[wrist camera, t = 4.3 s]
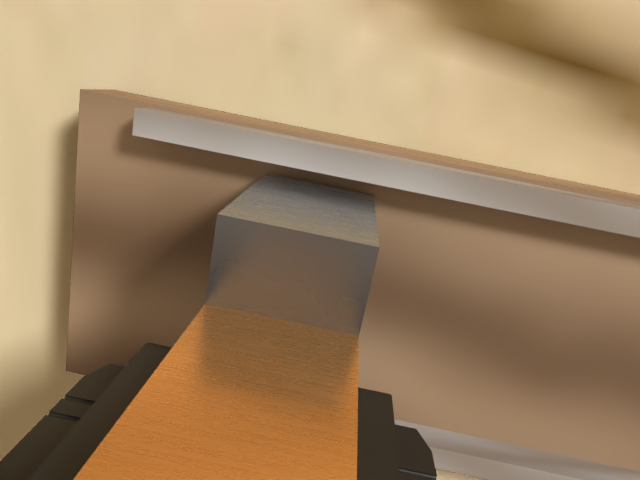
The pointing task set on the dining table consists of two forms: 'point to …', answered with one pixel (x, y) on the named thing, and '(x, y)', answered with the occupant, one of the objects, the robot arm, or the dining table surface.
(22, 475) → the robot arm
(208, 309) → the sliding jaw
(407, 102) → the dining table surface
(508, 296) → the base
